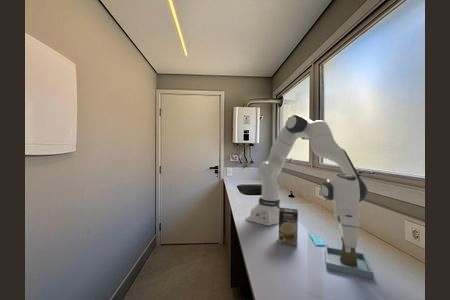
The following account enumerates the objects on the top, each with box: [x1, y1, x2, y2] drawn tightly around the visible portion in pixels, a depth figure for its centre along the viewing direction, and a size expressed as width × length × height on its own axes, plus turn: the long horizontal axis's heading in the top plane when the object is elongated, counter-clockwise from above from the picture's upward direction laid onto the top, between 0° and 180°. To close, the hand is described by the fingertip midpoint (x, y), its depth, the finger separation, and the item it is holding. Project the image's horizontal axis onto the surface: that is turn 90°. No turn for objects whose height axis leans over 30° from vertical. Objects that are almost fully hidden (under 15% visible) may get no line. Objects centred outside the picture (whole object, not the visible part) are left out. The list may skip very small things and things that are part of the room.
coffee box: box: [278, 206, 299, 246], centre depth 100 cm, size 9×6×16 cm
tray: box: [324, 245, 374, 280], centre depth 81 cm, size 15×14×2 cm
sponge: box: [309, 233, 328, 247], centre depth 101 cm, size 2×12×6 cm
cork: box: [340, 237, 357, 267], centre depth 80 cm, size 6×6×11 cm
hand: (346, 248), depth 80 cm, fingers closed on cork, 4 cm apart
